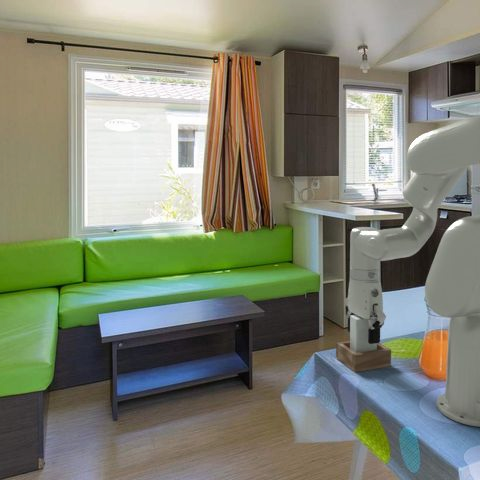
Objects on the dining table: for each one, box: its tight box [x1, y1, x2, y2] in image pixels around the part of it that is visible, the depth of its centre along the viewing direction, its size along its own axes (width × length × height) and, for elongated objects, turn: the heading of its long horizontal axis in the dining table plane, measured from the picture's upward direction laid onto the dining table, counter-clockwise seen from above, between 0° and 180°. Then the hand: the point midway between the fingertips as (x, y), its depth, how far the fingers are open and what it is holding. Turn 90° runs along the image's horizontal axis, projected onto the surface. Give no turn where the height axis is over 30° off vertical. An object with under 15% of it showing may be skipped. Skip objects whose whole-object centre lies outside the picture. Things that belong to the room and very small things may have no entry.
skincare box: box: [349, 315, 377, 353], centre depth 117 cm, size 6×4×12 cm
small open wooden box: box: [335, 340, 392, 373], centre depth 117 cm, size 9×11×4 cm
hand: (363, 336), depth 117 cm, fingers open, 9 cm apart
